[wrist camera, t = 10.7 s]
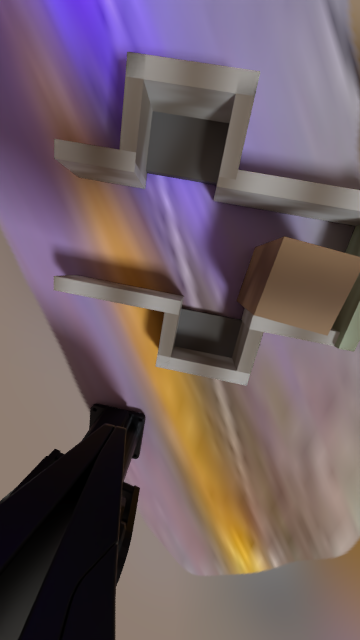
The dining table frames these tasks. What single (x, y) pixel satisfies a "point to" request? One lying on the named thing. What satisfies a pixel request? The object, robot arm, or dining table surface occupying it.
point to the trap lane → (232, 187)
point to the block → (298, 283)
